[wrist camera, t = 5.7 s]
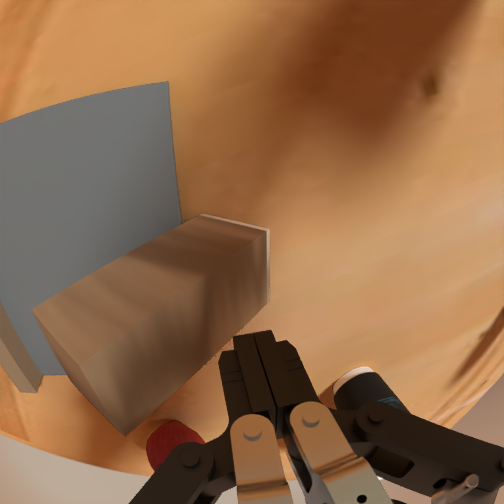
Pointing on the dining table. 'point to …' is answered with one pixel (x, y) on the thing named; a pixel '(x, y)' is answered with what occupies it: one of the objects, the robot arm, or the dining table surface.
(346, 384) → the dixie cup
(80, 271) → the grey flat slab
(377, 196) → the dining table surface
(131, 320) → the cardboard box
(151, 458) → the onion
